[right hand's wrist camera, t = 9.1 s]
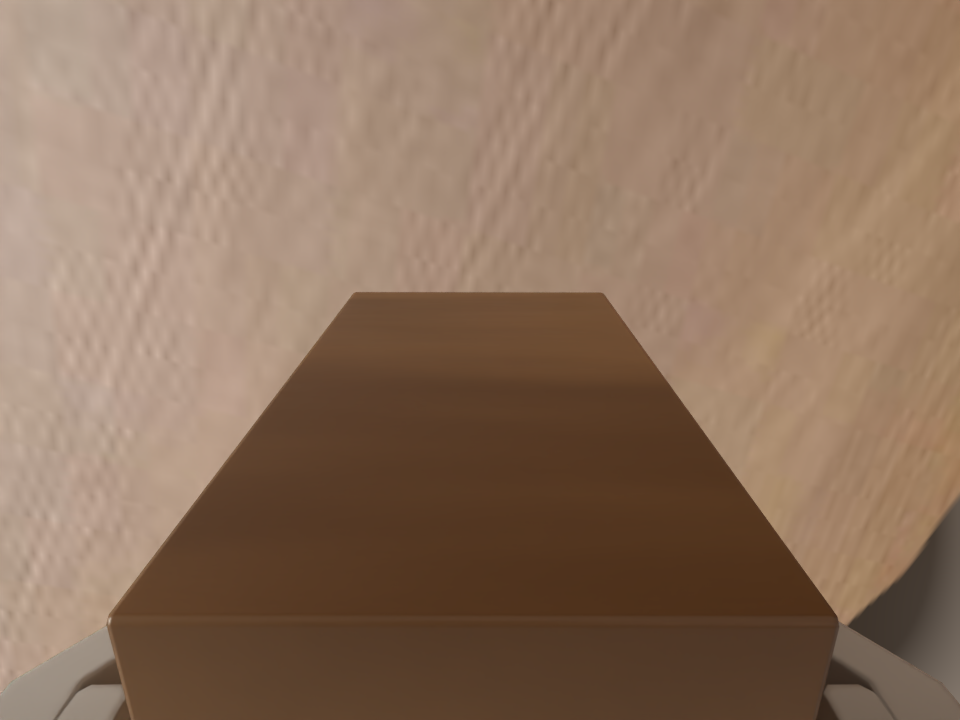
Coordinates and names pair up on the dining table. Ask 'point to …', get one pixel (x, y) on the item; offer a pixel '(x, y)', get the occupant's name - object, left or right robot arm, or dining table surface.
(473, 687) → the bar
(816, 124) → the dining table surface
